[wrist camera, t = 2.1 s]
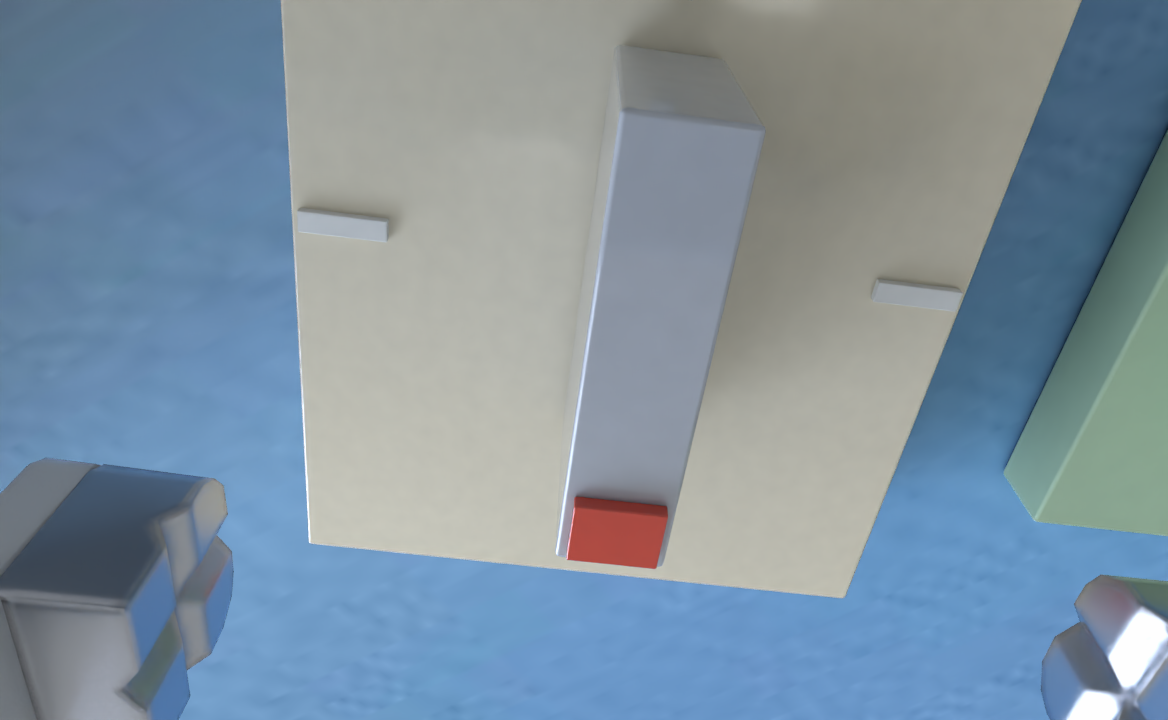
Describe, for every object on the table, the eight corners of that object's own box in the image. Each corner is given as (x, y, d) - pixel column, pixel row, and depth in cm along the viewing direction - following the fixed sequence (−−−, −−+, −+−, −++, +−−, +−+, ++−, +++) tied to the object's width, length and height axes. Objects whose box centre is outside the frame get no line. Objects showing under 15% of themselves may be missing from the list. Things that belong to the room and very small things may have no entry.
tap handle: (615, 43, 12) (620, 114, 9) (726, 58, 12) (772, 133, 9) (562, 418, 15) (553, 569, 12) (650, 429, 15) (665, 581, 12)
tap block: (330, -307, 12) (255, -352, 10) (1054, -196, 13) (1174, -207, 10) (346, 453, 20) (305, 550, 17) (814, 504, 20) (847, 605, 18)
